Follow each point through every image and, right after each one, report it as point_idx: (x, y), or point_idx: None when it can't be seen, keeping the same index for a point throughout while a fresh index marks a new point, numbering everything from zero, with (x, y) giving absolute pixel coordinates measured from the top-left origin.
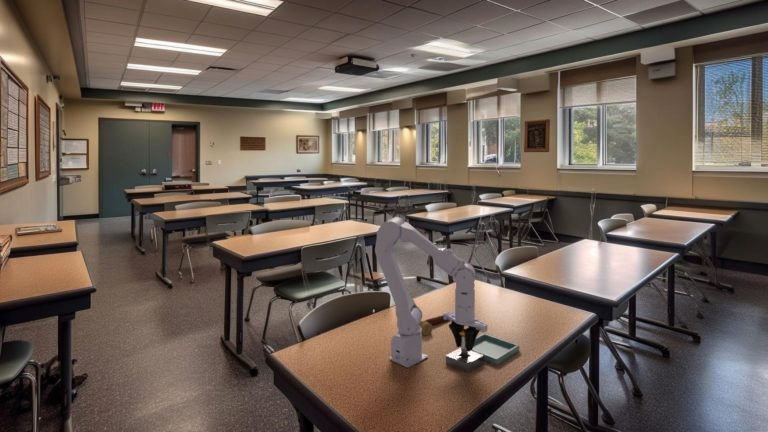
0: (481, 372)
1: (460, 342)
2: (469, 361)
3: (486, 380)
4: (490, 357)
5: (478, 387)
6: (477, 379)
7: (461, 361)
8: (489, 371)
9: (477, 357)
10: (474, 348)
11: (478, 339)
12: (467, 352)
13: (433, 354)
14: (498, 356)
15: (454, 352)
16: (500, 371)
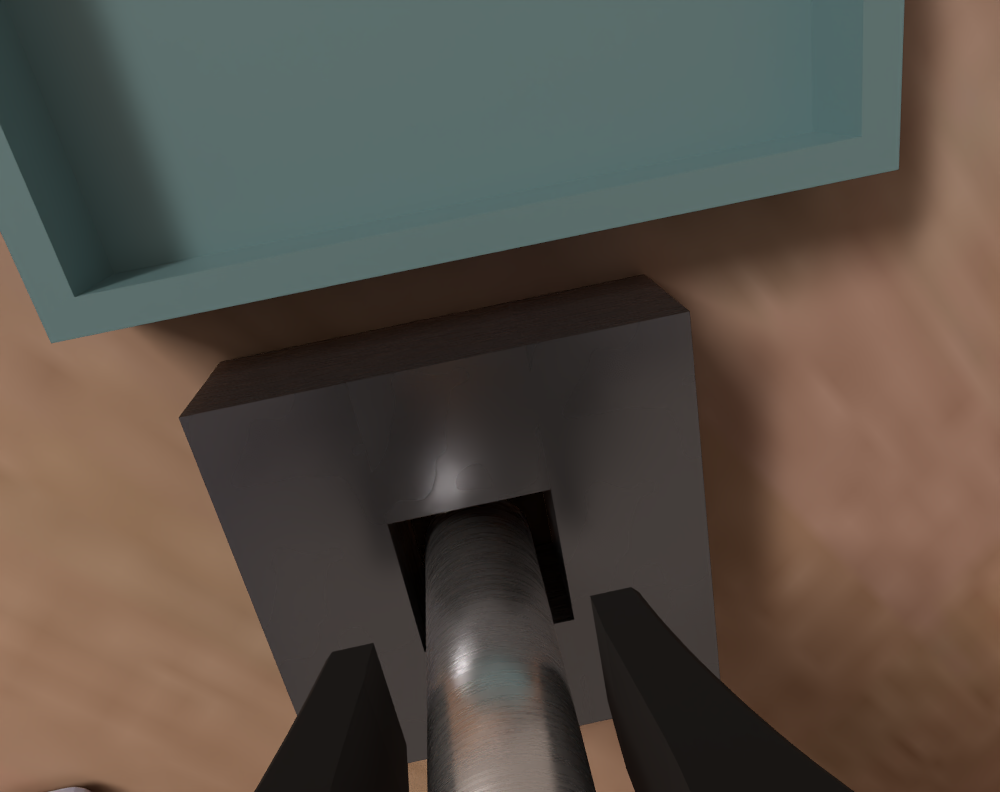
0: (789, 476)
1: (385, 761)
2: (678, 630)
3: (939, 546)
4: (759, 193)
5: (948, 689)
6: (851, 610)
7: (604, 712)
8: (849, 374)
9: (674, 457)
10: (157, 27)
11: None
12: (546, 600)
13: (22, 685)
14: (865, 41)
15: (310, 644)
16: (963, 245)
